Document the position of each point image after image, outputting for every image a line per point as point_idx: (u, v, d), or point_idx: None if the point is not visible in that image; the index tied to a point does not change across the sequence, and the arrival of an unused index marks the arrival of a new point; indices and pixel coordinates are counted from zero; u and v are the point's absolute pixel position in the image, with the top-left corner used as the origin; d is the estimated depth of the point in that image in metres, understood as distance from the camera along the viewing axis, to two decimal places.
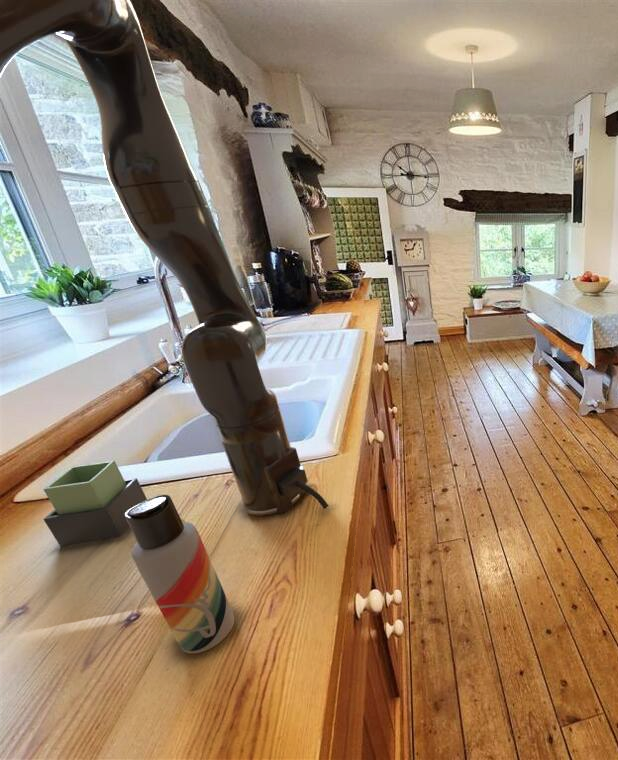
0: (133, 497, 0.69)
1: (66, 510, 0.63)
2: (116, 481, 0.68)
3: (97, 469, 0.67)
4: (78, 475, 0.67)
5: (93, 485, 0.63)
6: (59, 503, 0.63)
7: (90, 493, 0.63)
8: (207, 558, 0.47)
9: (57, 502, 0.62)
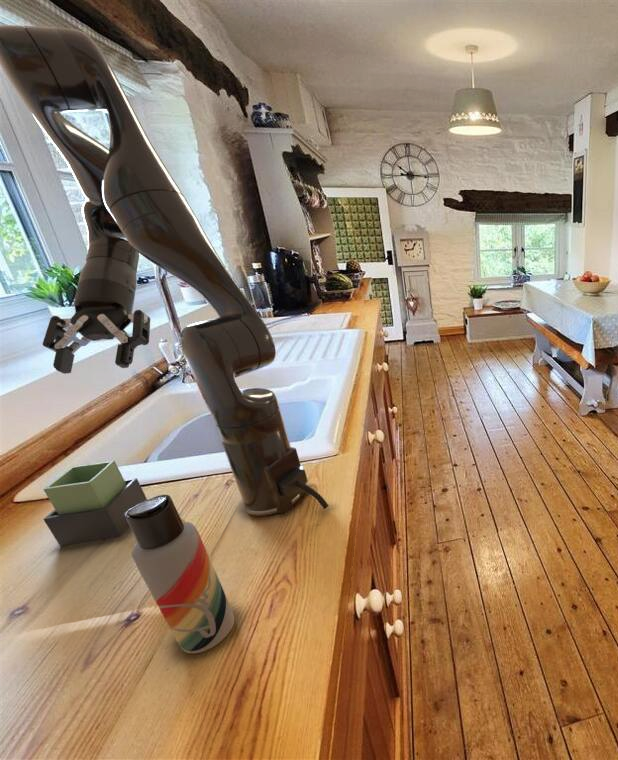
0: (133, 497, 0.69)
1: (66, 510, 0.63)
2: (116, 481, 0.68)
3: (97, 469, 0.67)
4: (78, 475, 0.67)
5: (93, 485, 0.63)
6: (59, 503, 0.63)
7: (90, 493, 0.63)
8: (207, 558, 0.47)
9: (57, 502, 0.62)
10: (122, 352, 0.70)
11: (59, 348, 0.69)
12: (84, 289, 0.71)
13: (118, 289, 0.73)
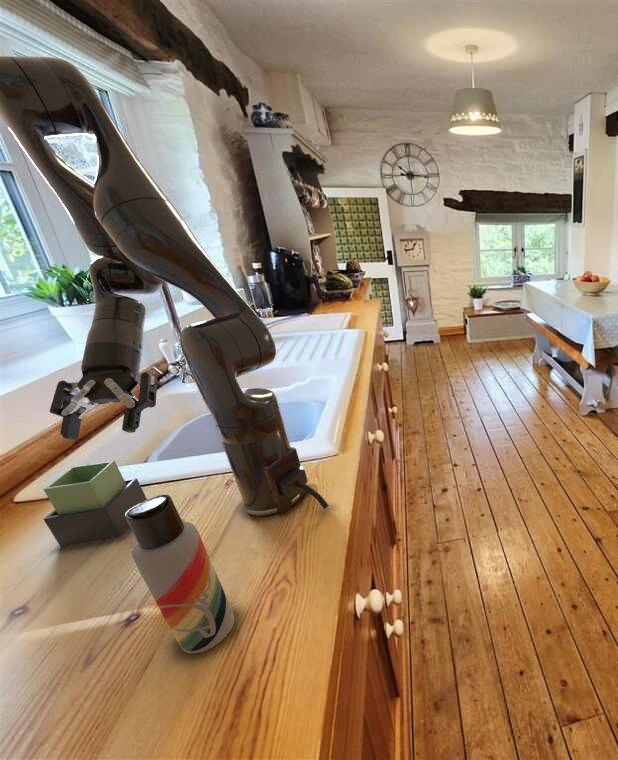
0: (133, 497, 0.69)
1: (66, 510, 0.63)
2: (116, 481, 0.68)
3: (97, 469, 0.67)
4: (78, 475, 0.67)
5: (93, 485, 0.63)
6: (59, 503, 0.63)
7: (90, 493, 0.63)
8: (207, 558, 0.47)
9: (57, 502, 0.62)
10: (129, 417, 0.70)
11: (66, 415, 0.69)
12: (91, 354, 0.70)
13: (125, 351, 0.73)
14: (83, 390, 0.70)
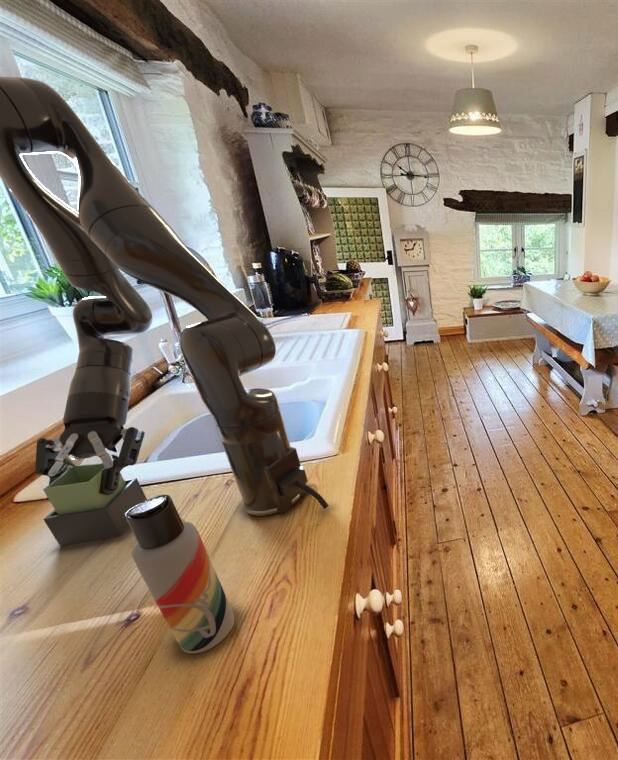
0: (133, 497, 0.69)
1: (66, 510, 0.63)
2: None
3: (97, 469, 0.67)
4: (78, 475, 0.67)
5: (93, 485, 0.63)
6: (59, 503, 0.63)
7: (90, 493, 0.63)
8: (207, 558, 0.47)
9: (57, 502, 0.62)
10: (107, 479, 0.65)
11: (53, 475, 0.64)
12: (74, 405, 0.66)
13: (111, 401, 0.68)
14: (65, 445, 0.65)
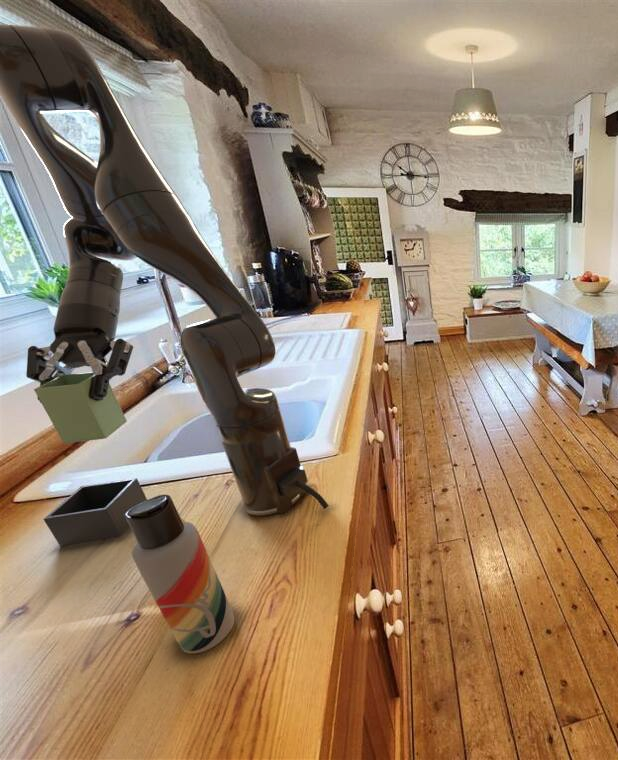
0: (133, 497, 0.69)
1: (56, 412, 0.66)
2: None
3: (87, 378, 0.70)
4: (68, 383, 0.69)
5: (82, 388, 0.65)
6: (49, 404, 0.65)
7: (79, 396, 0.65)
8: (207, 558, 0.47)
9: (47, 403, 0.65)
10: (96, 384, 0.67)
11: (44, 380, 0.66)
12: (64, 315, 0.68)
13: (100, 314, 0.71)
14: (55, 352, 0.68)
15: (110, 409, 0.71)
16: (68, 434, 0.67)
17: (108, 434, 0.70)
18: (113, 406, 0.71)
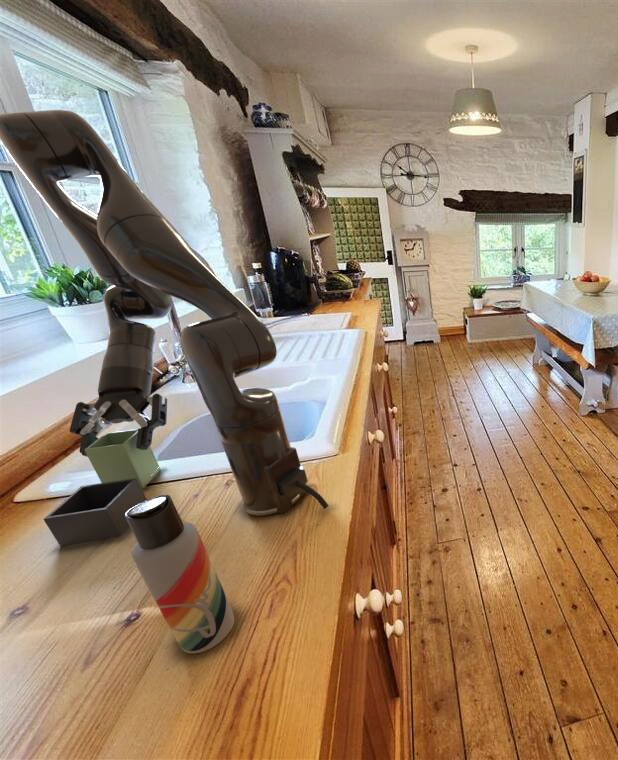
0: (133, 497, 0.69)
1: (102, 468, 0.74)
2: None
3: (127, 435, 0.78)
4: (111, 440, 0.78)
5: (126, 447, 0.74)
6: (97, 462, 0.74)
7: (123, 454, 0.74)
8: (207, 558, 0.47)
9: (95, 461, 0.73)
10: (142, 436, 0.76)
11: (85, 434, 0.75)
12: (107, 377, 0.77)
13: (138, 374, 0.79)
14: (100, 411, 0.76)
15: (148, 462, 0.79)
16: None
17: None
18: (150, 459, 0.80)
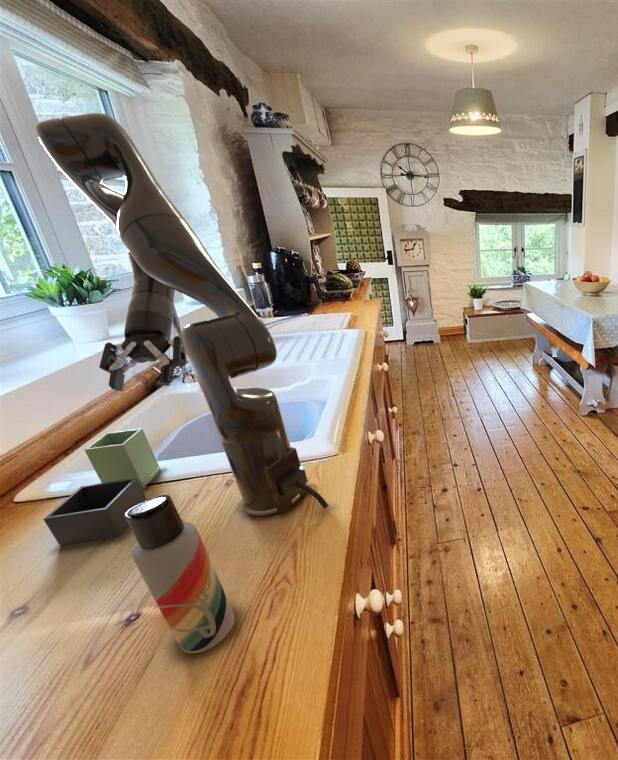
0: (133, 497, 0.69)
1: (102, 468, 0.74)
2: (143, 446, 0.79)
3: (127, 435, 0.78)
4: (111, 440, 0.78)
5: (126, 447, 0.74)
6: (97, 462, 0.74)
7: (123, 454, 0.74)
8: (207, 558, 0.47)
9: (95, 461, 0.73)
10: (165, 372, 0.84)
11: (113, 370, 0.82)
12: (133, 320, 0.84)
13: (160, 319, 0.87)
14: (126, 350, 0.84)
15: (148, 462, 0.79)
16: None
17: None
18: (150, 459, 0.80)
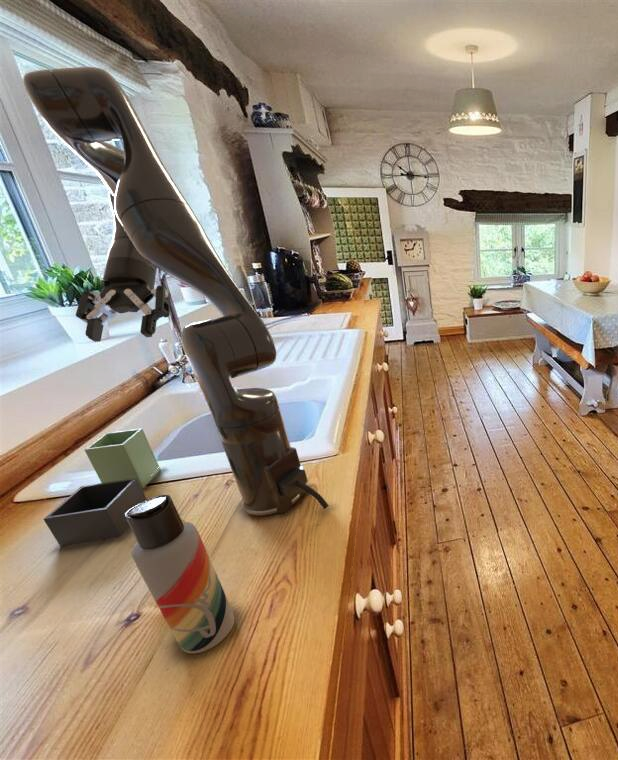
0: (133, 497, 0.69)
1: (102, 468, 0.74)
2: (143, 446, 0.79)
3: (127, 435, 0.78)
4: (111, 440, 0.78)
5: (126, 447, 0.74)
6: (97, 462, 0.74)
7: (123, 454, 0.74)
8: (207, 558, 0.47)
9: (95, 461, 0.73)
10: (146, 323, 0.78)
11: (90, 318, 0.77)
12: (112, 266, 0.79)
13: (142, 267, 0.81)
14: (105, 298, 0.78)
15: (148, 462, 0.79)
16: None
17: None
18: (150, 459, 0.80)
